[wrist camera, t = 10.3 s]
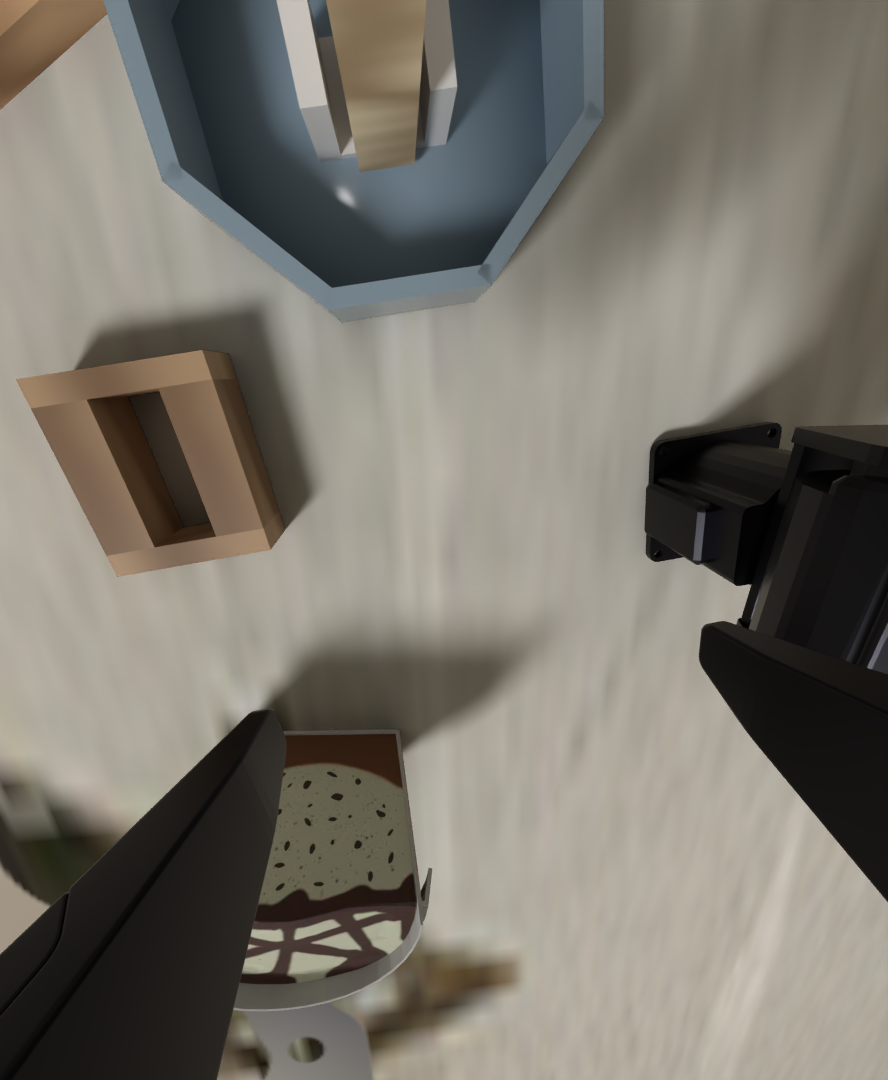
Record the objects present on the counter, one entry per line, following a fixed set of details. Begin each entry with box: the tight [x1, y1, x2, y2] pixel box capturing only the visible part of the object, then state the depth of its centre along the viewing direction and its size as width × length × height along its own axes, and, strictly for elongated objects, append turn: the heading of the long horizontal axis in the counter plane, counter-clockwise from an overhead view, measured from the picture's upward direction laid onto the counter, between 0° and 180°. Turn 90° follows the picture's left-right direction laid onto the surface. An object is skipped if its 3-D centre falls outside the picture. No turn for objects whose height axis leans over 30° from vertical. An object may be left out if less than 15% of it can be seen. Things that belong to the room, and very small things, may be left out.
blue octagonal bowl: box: [103, 0, 604, 323], centre depth 13 cm, size 13×13×4 cm
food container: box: [233, 729, 432, 1011], centre depth 22 cm, size 12×6×10 cm, turn 85°
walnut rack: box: [16, 350, 285, 577], centre depth 17 cm, size 7×8×2 cm
